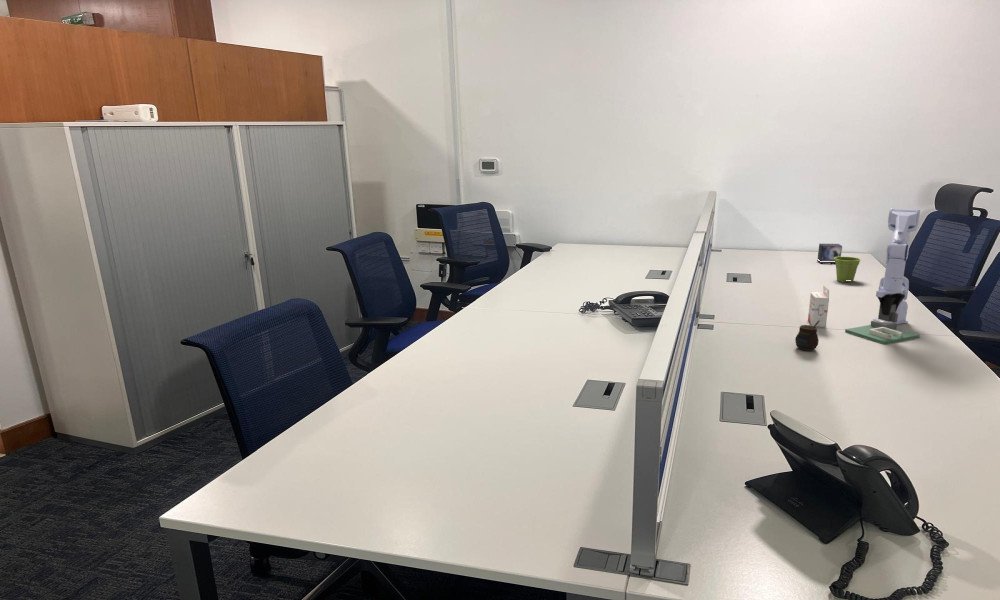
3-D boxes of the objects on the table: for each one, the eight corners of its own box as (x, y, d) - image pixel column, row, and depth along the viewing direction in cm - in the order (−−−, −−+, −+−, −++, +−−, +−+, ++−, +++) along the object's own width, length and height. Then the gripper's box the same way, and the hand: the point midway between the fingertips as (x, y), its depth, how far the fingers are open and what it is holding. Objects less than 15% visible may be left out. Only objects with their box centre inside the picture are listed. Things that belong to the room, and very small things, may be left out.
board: (878, 325, 248) (880, 317, 247) (919, 337, 233) (920, 328, 233) (844, 331, 241) (845, 323, 240) (884, 344, 227) (885, 335, 226)
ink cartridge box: (806, 320, 256) (810, 284, 252) (820, 321, 255) (824, 284, 251) (812, 326, 248) (816, 289, 244) (826, 327, 247) (830, 290, 243)
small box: (820, 263, 359) (822, 245, 357) (816, 261, 366) (818, 243, 363) (840, 264, 358) (842, 245, 355) (836, 261, 364) (838, 243, 361)
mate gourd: (789, 347, 225) (792, 319, 223) (805, 344, 228) (808, 317, 226) (806, 353, 219) (809, 325, 216) (822, 350, 222) (826, 322, 219)
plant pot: (859, 279, 321) (862, 257, 318) (857, 284, 312) (860, 261, 309) (832, 277, 328) (835, 255, 325) (830, 281, 318) (832, 259, 315)
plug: (883, 317, 235) (885, 301, 234) (898, 321, 230) (900, 305, 229) (877, 318, 234) (880, 302, 232) (893, 322, 229) (895, 306, 227)
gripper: (895, 272, 235) (890, 308, 238) (869, 277, 228) (864, 314, 232) (915, 276, 229) (909, 313, 232) (889, 281, 222) (884, 318, 226)
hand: (888, 314), depth 232 cm, fingers closed on plug, 3 cm apart
